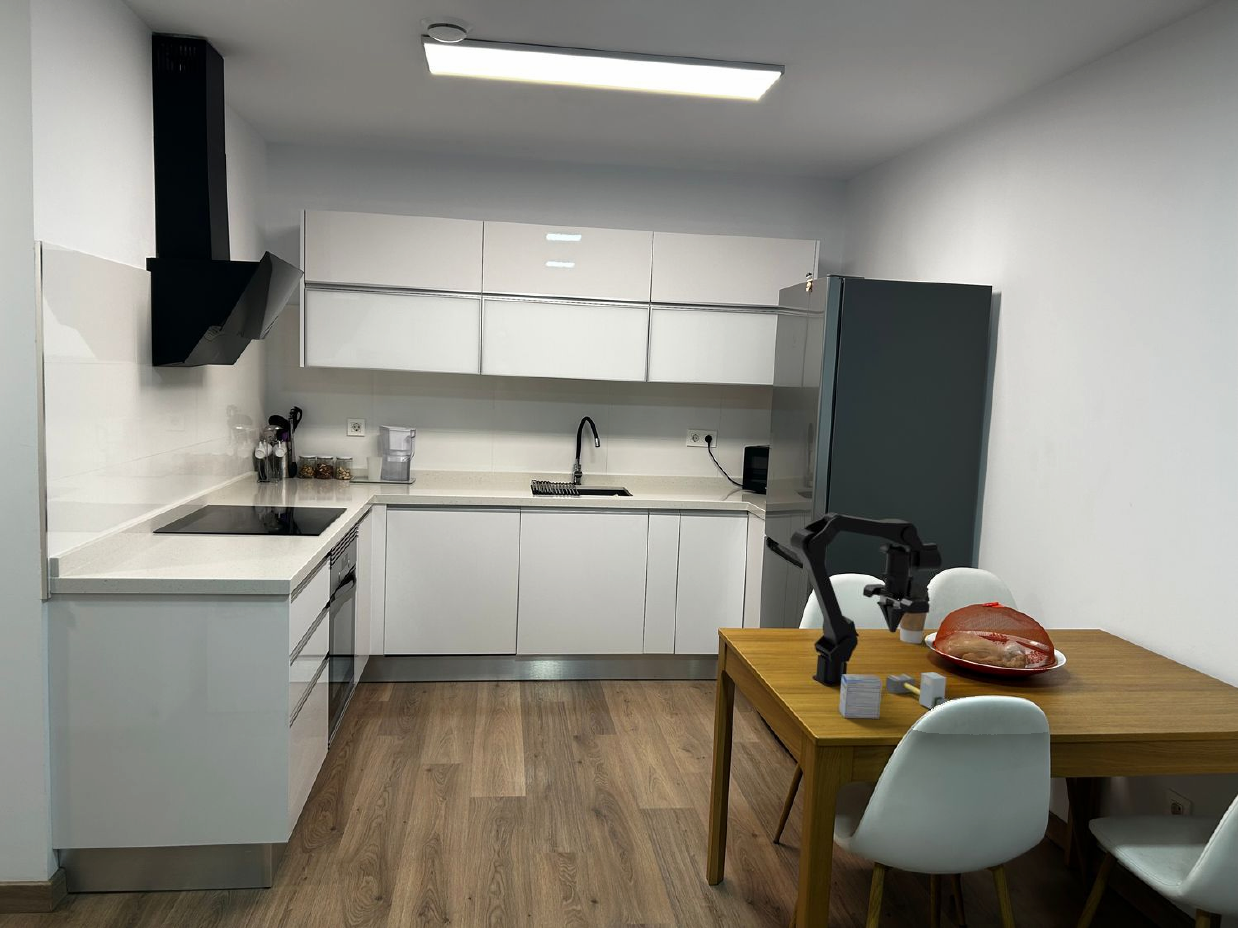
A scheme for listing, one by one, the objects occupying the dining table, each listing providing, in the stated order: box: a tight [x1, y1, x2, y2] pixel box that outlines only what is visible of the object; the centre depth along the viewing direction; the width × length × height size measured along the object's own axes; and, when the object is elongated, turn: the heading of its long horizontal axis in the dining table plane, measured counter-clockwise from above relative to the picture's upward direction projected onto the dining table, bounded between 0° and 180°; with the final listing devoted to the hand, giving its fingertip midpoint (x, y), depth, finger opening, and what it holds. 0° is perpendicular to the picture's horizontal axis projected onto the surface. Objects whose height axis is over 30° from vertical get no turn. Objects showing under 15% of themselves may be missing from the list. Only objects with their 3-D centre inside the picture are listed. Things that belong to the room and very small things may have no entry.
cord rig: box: [885, 673, 951, 705], centre depth 215 cm, size 6×19×4 cm, turn 22°
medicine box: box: [838, 673, 883, 720], centre depth 204 cm, size 8×4×9 cm, turn 92°
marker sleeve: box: [918, 671, 947, 710], centre depth 212 cm, size 4×4×7 cm
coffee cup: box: [899, 591, 930, 644], centre depth 266 cm, size 8×8×15 cm
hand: (892, 632), depth 230 cm, fingers closed
